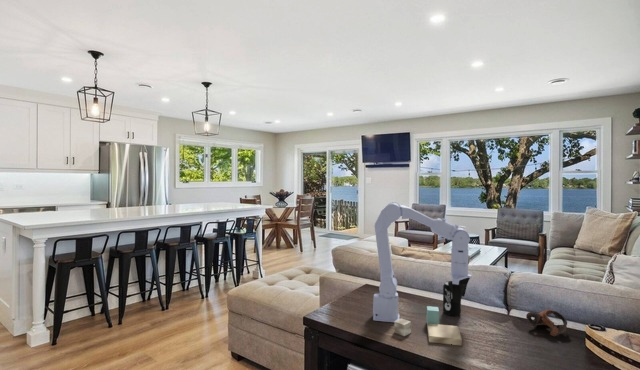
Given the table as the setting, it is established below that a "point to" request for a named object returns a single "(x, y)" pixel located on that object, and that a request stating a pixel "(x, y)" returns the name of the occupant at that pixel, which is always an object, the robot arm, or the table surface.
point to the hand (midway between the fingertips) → (459, 298)
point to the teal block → (432, 315)
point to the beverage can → (450, 302)
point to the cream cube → (402, 327)
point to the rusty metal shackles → (548, 321)
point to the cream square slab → (444, 334)
